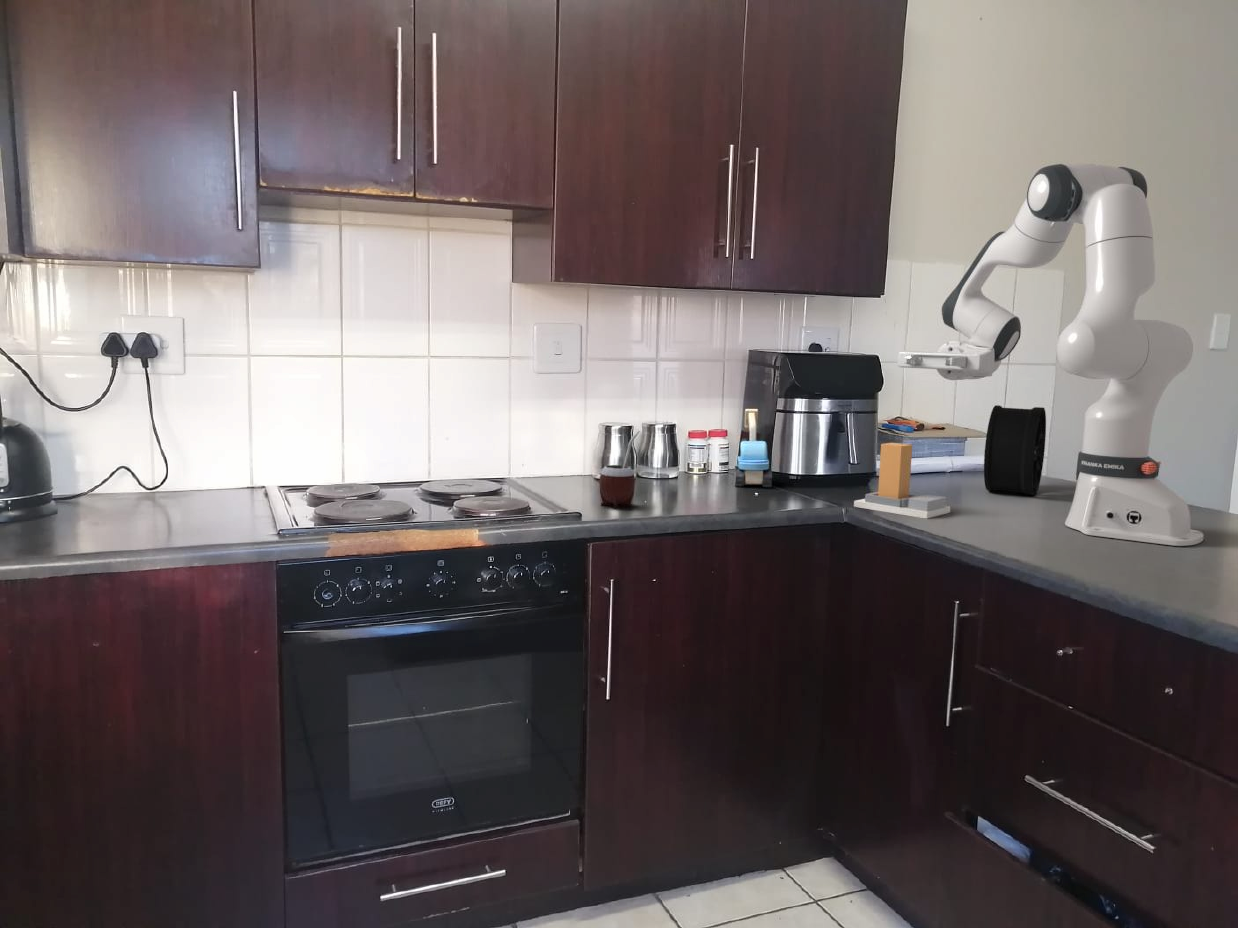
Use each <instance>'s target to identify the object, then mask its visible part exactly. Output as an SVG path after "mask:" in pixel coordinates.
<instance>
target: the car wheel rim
mask: <svg viewBox="0 0 1238 928" xmlns="http://www.w3.org/2000/svg"><path fill="white" fill-rule="evenodd" d="M1046 435H1047V414H1046V410H1045V407H1040V406H1035V407H1032V408H1019V407H1018V408H1015V407H1014V408H1013V407H1003V406H1002V405H998V404H997V405H994V406H993V408H992V410H991V412H990V416H989V419H988V425H987V430H986V437H985V444H984V445H985V446H984V456H983V479H984V486H985V490H986V491H988V492H989V491H991V492H992V491H994V490H996V491H997V490H998V491H999V490H1000V491H1007V492H1008V491H1009V492H1020V493H1023V494H1025V495H1026V496H1036V495H1037V494H1038V491H1039V488H1040V484H1041V479H1042V472H1043V465H1044V459H1045V449H1046V448H1045V447H1046V437H1047V436H1046Z"/></svg>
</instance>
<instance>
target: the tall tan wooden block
mask: <svg viewBox="0 0 1238 928" xmlns="http://www.w3.org/2000/svg"><path fill="white" fill-rule="evenodd" d="M912 455H913V444H910V443H909V444H907V443H898V442H897V443H896V442H887V443H881V444H880V455H879V456H880V458H879V475H878V491H877V492H878V496H883V497H889V498H896V499H903V498H907V497H909V494H910V486H911V472H912Z"/></svg>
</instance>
